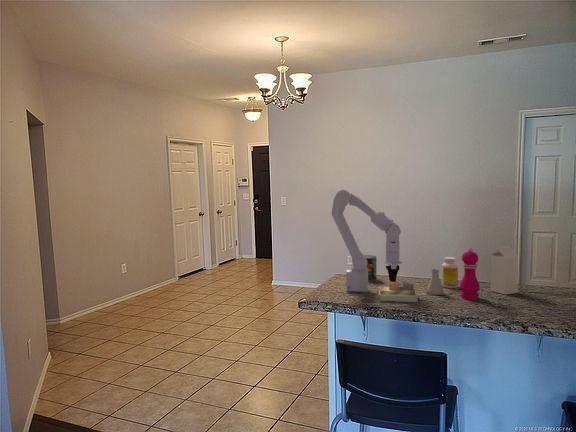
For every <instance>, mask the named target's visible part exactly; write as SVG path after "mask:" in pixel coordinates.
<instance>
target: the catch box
mask: <svg viewBox="0 0 576 432" xmlns="http://www.w3.org/2000/svg"><path fill="white" fill-rule="evenodd" d="M387 301H395V302H394V303H419V295H418V293H417V291H415V296H413V295H381V294H380V291H379V290H378V302H387Z"/></svg>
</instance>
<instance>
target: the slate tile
mask: <svg viewBox="0 0 576 432" xmlns="http://www.w3.org/2000/svg"><path fill="white" fill-rule="evenodd" d="M401 287H402V289H403V290H413V288H414V282H412V281H402V282H401Z"/></svg>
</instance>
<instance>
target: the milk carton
mask: <svg viewBox="0 0 576 432" xmlns="http://www.w3.org/2000/svg"><path fill="white" fill-rule="evenodd" d="M518 270H519V256H518V254H516V252H514V250H513V249H512V245H508V246H498V247H497V250H496V251H495V252H494V253H492V254H491V255H490V291H491V292H494V293H496V294H497V293H498V294H502V295H511V294H517V293H518V283H519V281H518V280H519V276H518V275H519V271H518Z"/></svg>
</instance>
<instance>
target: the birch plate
mask: <svg viewBox="0 0 576 432" xmlns="http://www.w3.org/2000/svg"><path fill="white" fill-rule="evenodd" d="M379 291H380V294H381V295H413V296H415V292H416V290H415V289H414V287H413V290H403V289H402V286H399V290H389V286H384V285H383V286H382V285H380V286H378V292H379Z"/></svg>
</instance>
